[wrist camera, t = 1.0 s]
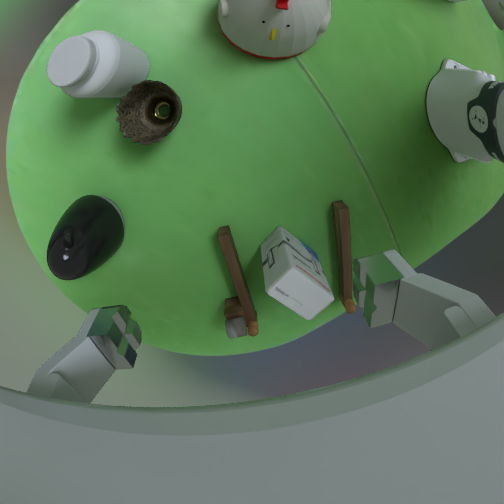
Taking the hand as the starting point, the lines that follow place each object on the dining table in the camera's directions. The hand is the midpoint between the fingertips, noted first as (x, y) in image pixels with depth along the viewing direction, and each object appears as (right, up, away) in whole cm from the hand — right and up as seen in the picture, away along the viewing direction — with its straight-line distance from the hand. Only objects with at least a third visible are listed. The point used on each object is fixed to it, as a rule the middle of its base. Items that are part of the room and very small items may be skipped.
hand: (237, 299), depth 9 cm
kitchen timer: (+3, +33, +16) cm, 37 cm away
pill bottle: (-17, +26, +19) cm, 37 cm away
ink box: (+6, +2, +34) cm, 35 cm away
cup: (-11, +21, +22) cm, 32 cm away
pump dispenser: (-23, +7, +30) cm, 38 cm away
